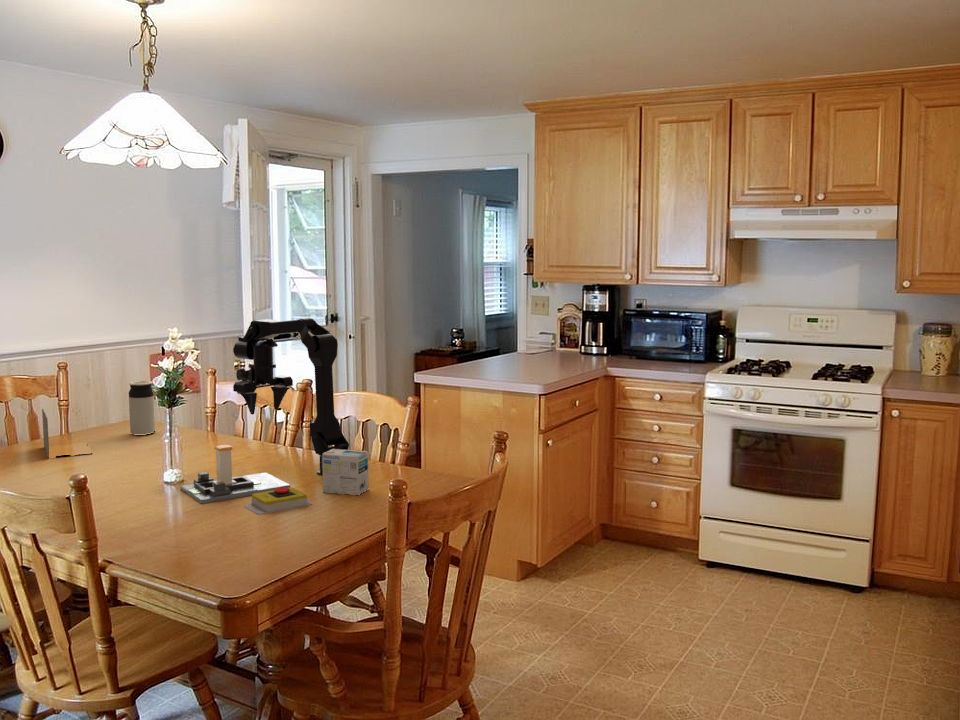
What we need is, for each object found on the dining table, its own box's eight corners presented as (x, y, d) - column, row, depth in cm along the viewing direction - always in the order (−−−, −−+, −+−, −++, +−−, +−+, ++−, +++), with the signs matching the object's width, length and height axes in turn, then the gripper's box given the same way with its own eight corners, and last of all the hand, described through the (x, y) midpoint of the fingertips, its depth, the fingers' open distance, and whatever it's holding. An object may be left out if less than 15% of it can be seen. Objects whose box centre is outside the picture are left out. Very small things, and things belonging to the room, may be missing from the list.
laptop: (93, 455, 263) (91, 414, 262) (48, 460, 257) (45, 417, 255) (86, 444, 279) (84, 404, 277) (43, 448, 272) (41, 408, 271)
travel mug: (159, 431, 297) (157, 380, 295) (147, 436, 289) (145, 384, 287) (138, 430, 298) (136, 380, 296) (125, 435, 290) (123, 383, 288)
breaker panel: (266, 475, 240) (265, 462, 240) (290, 488, 228) (289, 474, 227) (180, 489, 226) (180, 474, 225) (201, 503, 213) (200, 488, 213)
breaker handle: (230, 482, 228) (229, 443, 226) (236, 486, 225) (235, 446, 223) (212, 485, 225) (211, 446, 223) (218, 489, 222) (216, 449, 220)
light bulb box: (369, 489, 227) (369, 450, 226) (359, 496, 221) (359, 456, 220) (332, 486, 230) (332, 447, 229) (321, 493, 224) (321, 453, 222)
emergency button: (313, 489, 213) (257, 499, 204) (314, 506, 214) (257, 516, 205) (297, 481, 221) (241, 490, 211) (297, 497, 221) (242, 507, 212)
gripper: (269, 356, 268) (270, 404, 270) (220, 362, 253) (222, 413, 255) (293, 359, 262) (294, 408, 263) (245, 365, 246) (246, 418, 248)
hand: (264, 412), depth 258 cm, fingers open, 9 cm apart
